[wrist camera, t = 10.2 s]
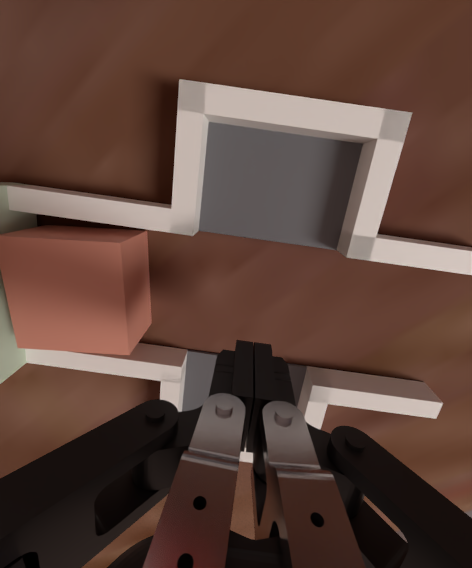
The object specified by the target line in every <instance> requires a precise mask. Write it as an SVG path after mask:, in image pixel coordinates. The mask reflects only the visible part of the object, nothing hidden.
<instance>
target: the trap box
mask: <svg viewBox="0 0 472 568" xmlns="http://www.w3.org/2000/svg"><path fill="white" fill-rule="evenodd" d="M411 116H412V113H410V112H403V111H396V110H390V109H383V108H376V107H369V106H362V105H355V104H348V103H341V102H334V101H327V100H320V99H313V98H307V97H300V96H293V95H286V94H279V93H272V92H265V91H258V90H251V89H244V88H237V87H230V86H224V85H217V84H210V83H203V82H196V81H189V80H182V79H179V92H178V109H177V125H176V142H175V158H174V174H173V191H172V205H169V204H162V203H155V202H148V201H141V200H134V199H127V198H120V197H113V196H106V195H99V194H91V193H84V192H77V191H70V190H63V189H56V188H49V187H42V186H35V185H28V184H21V183H14V182H0V234H4V233H9V232H14V231H19V230H24V229H29V228H34V227H38V226H37V214H41V215H48V216H56V217H63V218H70V219H77V220H84V221H91V222H98V223H105V224H112V225H120V226H127V227H134V228H141V229H148V230H155V231H162V232H169V233H176V234H183V235H191V236H193V235H194V234H196V233H197V232H198V231H205V232H212V233H219V234H226V235H233V236H240V237H247V238H254V239H262V240H269V241H276V242H283V243H290V244H297V245H304V246H311V247H318V248H325V249H333V250H337V251H338V252H340V253H341V254H343V255H344V256H345V257H347V258H354V259H361V260H368V261H375V262H382V263H390V264H397V265H404V266H411V267H418V268H425V269H432V270H439V271H446V272H454V273H461V274H468V275H472V247H466V246H459V245H452V244H445V243H438V242H431V241H424V240H417V239H410V238H403V237H396V236H388V235H381V234H377V233H378V229H379V226H380V222H381V219H382V215H383V212H384V209H385V205H386V202H387V198H388V195H389V191H390V188H391V184H392V181H393V178H394V174H395V171H396V167H397V164H398V160H399V157H400V153H401V150H402V147H403V143H404V140H405V136H406V133H407V129H408V126H409V122H410V119H411ZM217 355H218V354H216V353H209V352H202V351H195V350H187V349H180V348H173V347H166V346H158V345H151V344H144V343H137V345H136V346H135V348H134V349H133V351H132V352H131V354H130V355H116V354H101V353H85V352H70V351H55V350H39V349H24V348H18V347H17V343H16V338H15V333H14V329H13V324H12V320H11V315H10V311H9V306H8V301H7V297H6V292H5V288H4V283H3V278H2V274H1V269H0V384H1V383H2V382H3V381H5V380H6V379H7V378H8V377H9V376H11V375H12V374H13V373H14V372H16V371H17V370H18V369H19V368H21V367H22V366H23V365H24V364H26V363H33V364H40V365H47V366H55V367H62V368H69V369H77V370H84V371H91V372H99V373H106V374H113V375H120V376H128V377H135V378H142V379H150V380H157V381H161V387H160V400H166V401H169V402H171V403H172V404H174V405H175V406H176V408H177V409H178V412H182V411H189V410H194V409H196V408H199V407H200V406H202V405H203V404H204V402H205V400H206V399H207V398H208V397H209V392H210V387H211V382H212V378H213V373H214V368H215V363H216V358H217ZM287 365H288V367H289V372H290V377H291V382H292V387H293V392H294V397H295V403H296V407H297V408H298V409H299V410H300V411H301V412H302V414H303V415H304V418H305V421H306V422H307V423H308V424H310V425H311V426H313V427H315V428H317V429H321V426H322V422H323V419H324V415H325V412H326V408H327V405H328V404H332V405H339V406H347V407H354V408H361V409H369V410H376V411H383V412H391V413H398V414H405V415H412V416H420V417H427V418H434V419H436V418H437V416H438V414H439V411H440V409H441V407H442V405H443V402H442V401H441V400H440V399H439V398H438V397H437V396H436V395H435V393H434V392H433V391H432V390H431V389H430V388H429V387H428V386H427V384H426V383H425V382H420V381H412V380H405V379H398V378H391V377H383V376H376V375H369V374H362V373H354V372H347V371H340V370H333V369H325V368H318V367H311V366H304V365H296V364H289V363H287ZM239 461H244V462H251V463H253V453H249V452H246V443H245V449H244V452H241V453H240V459H239Z"/></svg>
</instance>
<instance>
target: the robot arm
mask: <svg viewBox="0 0 472 568" xmlns="http://www.w3.org/2000/svg"><path fill="white" fill-rule="evenodd" d="M245 443H246V452H249V453H253V464H252V470H251V486H252V500H253V514H254V528H255V540H251V539H249V538H246V537H244V536H242V535H240V534H238V533H235V532H233V531H231V530H230V525H231V518H232V510H233V503H234V495H235V488H236V481H237V473H238V466H239V459H240V453H241V452H244V449H245ZM168 493H169V494H168ZM167 494H168V497H167V499H166V502H165V505H164V508H163V511H162V514H161V517H160V519H159V522H158V525H157V528H156V531H155V534H154V535H153V536H151V537H148V538H146V539H144V540H142V541H140V542H138V543H137V544H135V545H133V546H132V547H130V548H129V549H128V550H127V551H125V552H124V553H123V554H121V555H120V556H119V557H118V558H117V559H116V560H115V561H114V562H113V563H112V564H110V565H109V566H108V567H107V568H472V518H471V517H469V516H468V515H467V514H466V513H464V512H463V511H462V510H461V509H459V508H458V507H457V506H456V505H454V504H453V503H452V502H451V501H449V500H448V499H447V498H446V497H444V496H443V495H442V494H441V493H439V492H438V491H437V490H436V489H434V488H433V487H432V486H431V485H429V484H428V483H427V482H426V481H424V480H423V479H422V478H421V477H419V476H418V475H417V474H416V473H414V472H413V471H412V470H410V469H409V468H408V467H407V466H405V465H404V464H403V463H402V462H400V461H399V460H398V459H397V458H395V457H394V456H393V455H392V454H390V453H389V452H388V451H387V450H385V449H384V448H383V447H382V446H380V445H379V444H378V443H377V442H375V441H374V440H373V439H372V438H370V437H369V436H368V435H367V434H365V433H364V432H362V431H360V430H358V429H356V428H353V427H349V426H339V427H336V428H335V429H333V431H332V433H331V434H330V433H327V432H325V431H322V430H320V429H317V428H315V427H313V426H311V425H310V424H308V423H307V422H306V421H305V418H304V415H303V414H302V412H301V411H300V410H299V409H298V408H297V407H296V403H295V397H294V392H293V387H292V382H291V377H290V372H289V367H288V365H287V363H286V362H285V361H284V360H283V358H281V357H273V356H272V348H271V344H263V343H256V342H254V346H253V342H248V341H241V340H237V342H236V349H235V351H229V350H222V351H221V352H220V353H219V354H218V355H217V358H216V363H215V368H214V373H213V378H212V382H211V387H210V392H209V397H208V398H207V399H206V400H205V402H204V404H203V405H202V406H200V407H199V408H196V409H194V410H189V411H182V412H178V409H177V408H176V406H175V405H174V404H172V403H171V402H169V401H166V400H158V399H157V400H150V401H147V402H144V403H142V404H140V405H138V406H136V407H135V408H133V409H131V410H129V411H127V412H125V413H123V414H121V415H119V416H118V417H116V418H114V419H112V420H110V421H108V422H106V423H104V424H102V425H101V426H99V427H97V428H95V429H93V430H91V431H89V432H87V433H86V434H84V435H82V436H80V437H78V438H76V439H74V440H72V441H70V442H69V443H67V444H65V445H63V446H61V447H59V448H57V449H55V450H53V451H52V452H50V453H48V454H46V455H44V456H42V457H40V458H38V459H36V460H35V461H33V462H31V463H29V464H27V465H25V466H23V467H21V468H20V469H18V470H16V471H14V472H12V473H10V474H8V475H6V476H4V477H3V478H1V479H0V568H81V567H83V566H84V565H85V564H86V563H87V562H88V561H90V560H91V559H92V558H93V557H94V556H96V555H97V554H98V553H99V552H100V551H101V550H103V549H104V548H105V547H106V546H107V545H109V544H110V543H111V542H112V541H113V540H114V539H116V538H117V537H118V536H119V535H120V534H122V533H123V532H124V531H125V530H126V529H127V528H129V527H130V526H131V525H132V524H133V523H135V522H136V521H137V520H138V519H139V518H140V517H142V516H143V515H144V514H145V513H146V512H148V511H149V510H150V509H151V508H152V507H153V506H155V505H156V504H157V503H158V502H159V501H160V500H162V499H163V498H164V497H165V496H166V495H167ZM364 496H366V497H367V498H368V499H369V500H370V501H371V502H372V503H373V504H374V505H375V506H377V507H378V508H379V509H380V510H381V511H382V512H383V513H384V514H385V515H386V516H387V517H388V518H389V519H390V520H391V521H392V522H393V523H394V524H395V525H396V526H397V527H398V528H399V529H400V530H401V532H402V533H403V534H404V536H405V538H406V539H407V542H408V543H407V542H405V541H404V540H403V539H402V538H401V537H400V536H399V535H398V534H397V533H396V532H395V531H394V530H393V529H392V528H391V527H390V526H389V525H388V524H387V523H386V522H385V521H384V520H383V519H382V518H381V517H380V516H379V515H378V514H377V513H376V512H375V511H374V510H373V509H372V508H371V507H370V506H369V505H368V504H367V503H366V502H365V501H364V500H363V499H364Z"/></svg>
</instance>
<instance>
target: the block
mask: <svg viewBox="0 0 472 568" xmlns="http://www.w3.org/2000/svg"><path fill="white" fill-rule="evenodd" d="M0 269H1V274H2V278H3V283H4V288H5V292H6V297H7V301H8V306H9V311H10V315H11V320H12V324H13V329H14V333H15V338H16V343H17V347H18V348H24V349H39V350H55V351H70V352H85V353H101V354H116V355H130V354H131V352H132V351H133V349H134V348H135V346H136V345H137V343H138V342H139V341H140V339H141V338H142V336H143V335H144V333H145V332H146V330H147V329H148V328H149V326H150V325H151V323H152V321H151V300H150V279H149V258H148V237H147V231H146V230H128V229H110V228H92V227H75V226H57V225H43V226H38V227H34V228H29V229H24V230H19V231H14V232H9V233H4V234H0Z"/></svg>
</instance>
